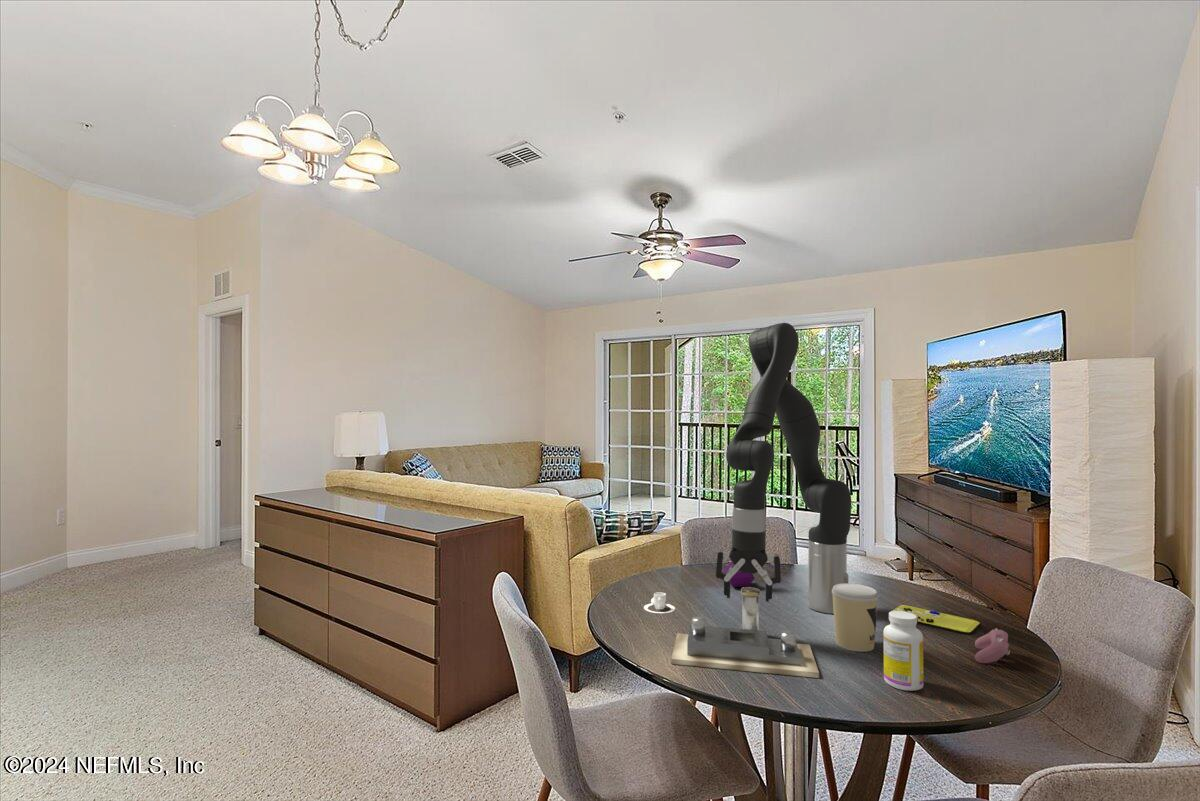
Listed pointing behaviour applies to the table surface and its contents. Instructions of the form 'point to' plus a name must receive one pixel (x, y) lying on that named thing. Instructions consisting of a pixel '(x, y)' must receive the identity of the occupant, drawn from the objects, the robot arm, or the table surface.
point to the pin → (750, 608)
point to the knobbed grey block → (741, 644)
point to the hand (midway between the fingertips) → (747, 599)
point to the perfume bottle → (740, 578)
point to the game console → (941, 620)
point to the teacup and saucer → (659, 603)
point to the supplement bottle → (903, 652)
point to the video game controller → (992, 646)
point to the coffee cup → (855, 616)
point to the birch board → (805, 670)
